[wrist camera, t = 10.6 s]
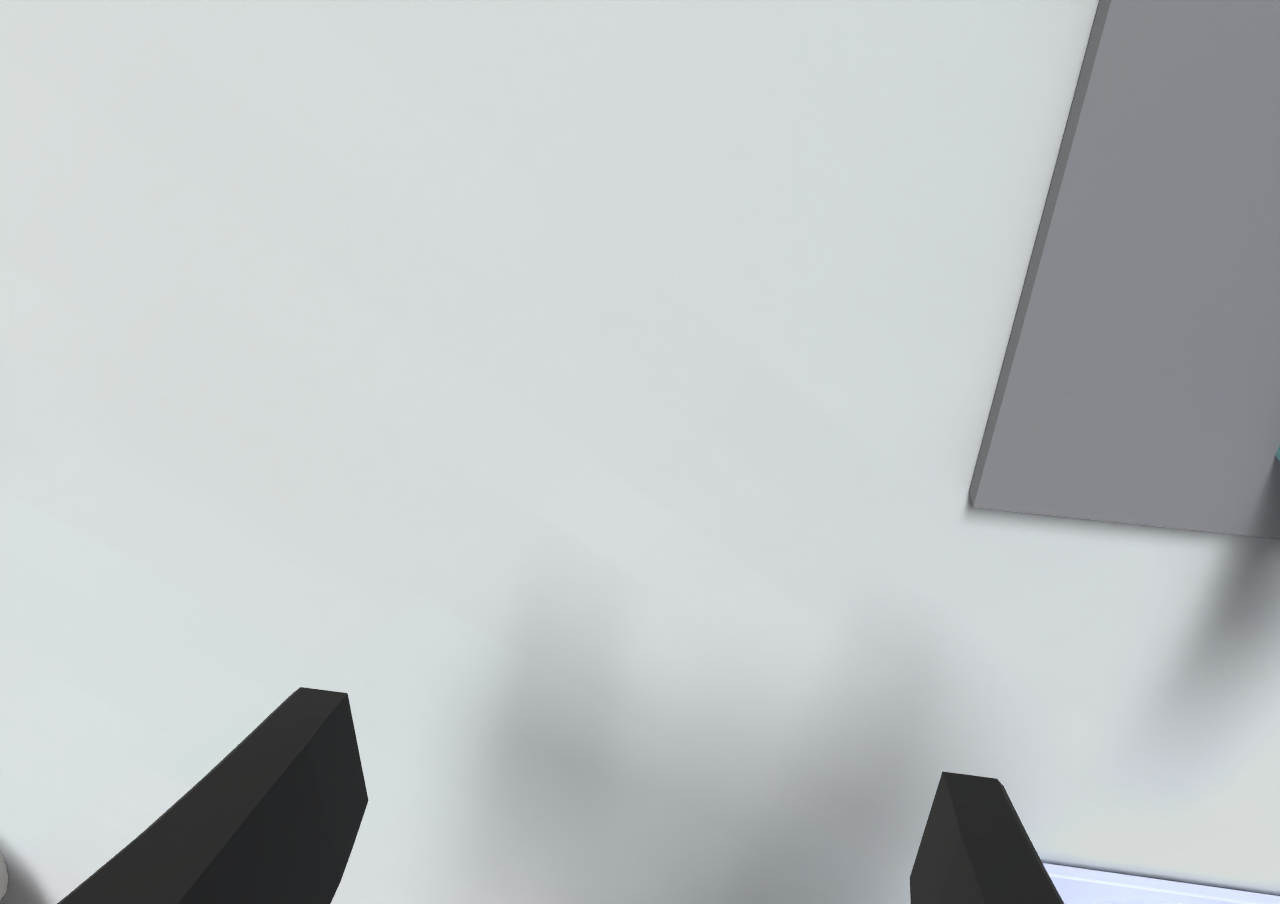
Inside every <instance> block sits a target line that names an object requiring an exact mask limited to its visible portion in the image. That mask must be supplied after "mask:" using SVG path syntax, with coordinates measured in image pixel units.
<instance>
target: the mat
mask: <svg viewBox="0 0 1280 904" xmlns="http://www.w3.org/2000/svg"><path fill="white" fill-rule="evenodd" d="M1279 446H1280V0H1100V1H1099V5H1098V9H1097V13H1096V16H1095V20H1094V24H1093V28H1092V31H1091V35H1090V39H1089V43H1088V46H1087V50H1086V54H1085V58H1084V61H1083V65H1082V69H1081V73H1080V76H1079V80H1078V84H1077V88H1076V91H1075V95H1074V99H1073V103H1072V107H1071V110H1070V114H1069V118H1068V122H1067V125H1066V129H1065V133H1064V137H1063V140H1062V144H1061V148H1060V152H1059V155H1058V159H1057V163H1056V167H1055V170H1054V174H1053V178H1052V182H1051V185H1050V189H1049V193H1048V197H1047V201H1046V204H1045V208H1044V212H1043V216H1042V219H1041V223H1040V227H1039V231H1038V234H1037V238H1036V242H1035V246H1034V249H1033V253H1032V257H1031V261H1030V264H1029V268H1028V272H1027V276H1026V279H1025V283H1024V287H1023V291H1022V295H1021V298H1020V302H1019V306H1018V310H1017V313H1016V317H1015V321H1014V325H1013V328H1012V332H1011V336H1010V340H1009V343H1008V347H1007V351H1006V355H1005V358H1004V362H1003V366H1002V370H1001V373H1000V377H999V381H998V385H997V389H996V392H995V396H994V400H993V404H992V407H991V411H990V415H989V419H988V422H987V426H986V430H985V434H984V437H983V441H982V445H981V449H980V452H979V456H978V460H977V464H976V467H975V471H974V475H973V479H972V483H971V486H970V490H969V494H970V498H971V501H972V505H973V508H981V509H990V510H1000V511H1010V512H1019V513H1029V514H1039V515H1048V516H1058V517H1068V518H1077V519H1087V520H1097V521H1106V522H1116V523H1126V524H1135V525H1145V526H1155V527H1165V528H1174V529H1184V530H1194V531H1203V532H1213V533H1223V534H1232V535H1242V536H1252V537H1261V538H1271V539H1280V461H1279V460H1278V458H1277V457H1276V456H1275V454H1276V452H1277V450H1278V448H1279Z"/></svg>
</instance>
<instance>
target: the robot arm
mask: <svg viewBox="0 0 1280 904" xmlns="http://www.w3.org/2000/svg"><path fill="white" fill-rule="evenodd" d="M367 803H368V797H367V791H366V786H365V781H364V776H363V771H362V766H361V761H360V756H359V750H358V745H357V740H356V735H355V730H354V725H353V720H352V714H351V709H350V704H349V699H348V694H347V693H341V692H333V691H326V690H318V689H310V688H303V687H300V688H299V689H298V690H296V691H295V692H294V693H293V694H292V695H291V696H289V697H288V698H287V699H286V700H285V701H284V702H283V703H282V704H281V705H280V706H279V707H278V708H277V709H276V710H275V711H274V712H273V713H271V714H270V715H269V716H268V717H267V718H266V719H265V720H264V721H263V722H262V723H261V724H260V725H259V726H258V727H257V728H256V729H255V730H254V731H253V732H252V733H251V734H249V735H248V736H247V737H246V738H245V739H244V740H243V741H242V742H241V743H240V744H239V745H238V746H237V747H236V748H235V749H234V750H233V751H232V752H230V753H229V754H228V755H227V756H226V757H225V758H224V759H223V760H222V761H221V762H220V763H219V764H218V765H217V766H216V767H214V768H213V769H212V770H211V771H210V772H209V773H208V774H207V775H206V776H205V777H204V778H203V779H202V780H201V781H199V782H198V783H197V784H196V785H195V786H194V787H193V788H192V789H191V790H189V791H188V792H187V793H186V794H185V795H184V796H183V797H182V798H181V799H179V800H178V801H177V802H176V803H175V804H174V805H173V806H172V807H171V808H169V809H168V810H167V811H166V812H165V813H164V814H163V815H162V816H161V817H159V818H158V819H157V820H156V821H155V822H154V823H153V824H152V825H151V826H149V827H148V828H147V829H146V830H145V831H144V832H143V833H141V834H140V835H139V836H138V837H137V838H136V839H135V840H133V841H132V842H131V843H130V844H129V845H127V846H126V847H125V848H124V849H123V850H121V851H120V852H119V853H118V854H117V855H115V856H114V857H113V858H112V859H111V860H109V861H108V862H107V863H106V864H105V865H103V866H102V867H101V868H100V869H99V870H97V871H96V872H95V873H94V874H93V875H91V876H90V877H89V878H88V879H87V880H85V881H84V882H83V883H82V884H81V885H80V886H78V887H77V888H76V889H75V890H74V891H72V892H71V893H70V894H69V895H67V896H66V897H65V898H64V899H62V900H61V901H60V902H59V903H57V904H330V903H331V901H332V899H333V897H334V895H335V892H336V890H337V888H338V886H339V884H340V881H341V879H342V876H343V873H344V870H345V867H346V865H347V862H348V859H349V856H350V853H351V851H352V848H353V845H354V842H355V839H356V836H357V833H358V830H359V827H360V824H361V821H362V818H363V815H364V812H365V809H366V806H367ZM910 894H911V904H1280V896H1275V895H1268V894H1261V893H1254V892H1247V891H1240V890H1232V889H1225V888H1218V887H1211V886H1204V885H1197V884H1190V883H1182V882H1175V881H1168V880H1161V879H1154V878H1147V877H1139V876H1132V875H1125V874H1118V873H1111V872H1104V871H1097V870H1089V869H1082V868H1075V867H1068V866H1061V865H1054V864H1046V863H1042V861H1041V860H1040V858H1039V856H1038V854H1037V852H1036V850H1035V848H1034V846H1033V844H1032V842H1031V840H1030V838H1029V837H1028V835H1027V833H1026V831H1025V829H1024V827H1023V825H1022V823H1021V821H1020V819H1019V817H1018V815H1017V813H1016V811H1015V809H1014V807H1013V805H1012V803H1011V801H1010V798H1009V796H1008V794H1007V792H1006V790H1005V788H1004V786H1003V785H1002V784H1001V783H1000V782H999V781H998V780H997V779H994V778H987V777H979V776H972V775H964V774H956V773H949V772H942V775H941V778H940V782H939V785H938V788H937V791H936V795H935V798H934V801H933V804H932V808H931V811H930V814H929V817H928V821H927V824H926V827H925V830H924V834H923V837H922V840H921V843H920V847H919V850H918V853H917V856H916V860H915V863H914V866H913V869H912V873H911V876H910Z"/></svg>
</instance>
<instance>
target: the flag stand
mask: <svg viewBox="0 0 1280 904" xmlns="http://www.w3.org/2000/svg"><path fill="white" fill-rule="evenodd" d="M8 880H9V877H8V872H7V867H6V862H5V860H4V858H3V856H2V854H1V852H0V901H1V899H2V898H3V896H4V895H5V893H6V891H7V886H8Z"/></svg>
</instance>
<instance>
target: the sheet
mask: <svg viewBox="0 0 1280 904" xmlns="http://www.w3.org/2000/svg"><path fill="white" fill-rule="evenodd" d="M1275 456H1276V457H1277V458H1278V460H1279V461H1280V446H1279V448H1278V450H1277V452H1276V454H1275Z"/></svg>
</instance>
